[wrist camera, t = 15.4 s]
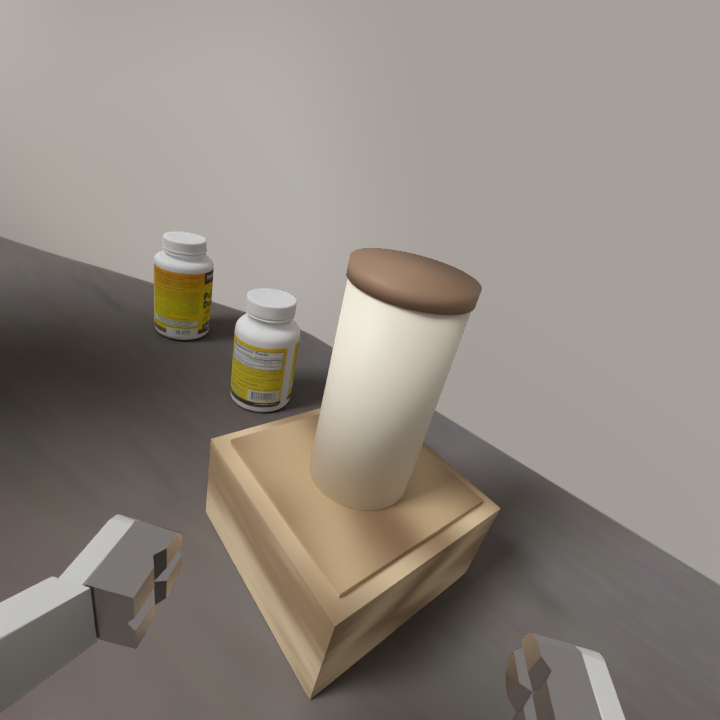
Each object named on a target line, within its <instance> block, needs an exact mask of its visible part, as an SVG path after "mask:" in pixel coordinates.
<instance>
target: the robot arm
mask: <svg viewBox="0 0 720 720" xmlns="http://www.w3.org/2000/svg"><path fill="white" fill-rule="evenodd" d="M181 544H182V533H180V532H176V531H173V530H169V529H166V528H163V527H159V526H156V525H153V524H149V523H146V522H143V521H140V520H137V519H133V518H130V517H126V516H123V515H119V514H117V515H116V516H114V517H113V518H111V519H110V520H109V521H108V522H107V523H106V524H105V525H104V527H103V528H102V529H101V530H100V531H99V532H98V534H97V535H96V536H95V537H94V538H93V539H92V540H91V542H90V543H89V544H88V545H87V546H86V547H85V548H84V550H83V551H82V552H81V553H80V554H79V555H78V556H77V558H76V559H75V560H74V561H73V562H72V563H71V564H70V566H69V567H68V568H67V569H66V570H65V571H64V573H63V574H62V575H61V576H60V577H59V578H57V577H53V576H52V577H50V578H48V579H46V580H44V581H42V582H40V583H38V584H36V585H34V586H32V587H30V588H28V589H26V590H24V591H22V592H20V593H18V594H16V595H14V596H12V597H10V598H8V599H6V600H4V601H2V602H0V713H2V712H3V711H4V710H6V709H7V708H8V707H10V706H11V705H12V704H14V703H15V702H16V701H18V700H19V699H20V698H22V697H23V696H24V695H26V694H27V693H28V692H30V691H31V690H33V689H34V688H35V687H37V686H38V685H39V684H41V683H42V682H43V681H45V680H46V679H47V678H49V677H50V676H51V675H53V674H54V673H55V672H57V671H58V670H60V669H61V668H62V667H64V666H65V665H66V664H68V663H69V662H70V661H72V660H73V659H74V658H76V657H77V656H78V655H80V654H81V653H82V652H84V651H85V650H87V649H88V648H89V647H91V646H92V645H93V644H95V643H96V642H97V639H100V640H104V641H108V642H112V643H115V644H119V645H123V646H127V647H131V648H135V649H136V648H137V647H138V645H139V643H140V642H141V640H142V638H143V637H144V635H145V633H146V631H147V630H148V628H149V626H150V625H151V623H152V621H153V620H154V618H155V605H156V604H157V603H159V602H161V601H162V600H164V599H165V598H167V596H168V594H169V592H170V590H171V589H172V587H173V585H174V583H175V580H176V578H177V576H178V573H179V570H180V566H181V561H182V555H181V554H180V552H179V551H178V549H179V547H180V546H181ZM522 644H523V648H522V649H519V650H516V651H514V652H513V653H512V655H511V657H510V658H509V660H508V664H507V669H506V688H507V695H508V699H509V700H510V702H511V704H512V705H513V707H514V708H515V710H516V714H515V716H514V718H513V720H626V719H625V717H624V714H623V711H622V708H621V705H620V703H619V700H618V697H617V694H616V691H615V688H614V686H613V683H612V680H611V677H610V674H609V672H608V669H607V666H606V663H605V661H604V659H603V657H602V656H601V654H600V653H598V652H596V651H594V650H590V649H587V648H583V647H579V646H575V645H573V644H571V643H567V642H563V641H560V640H556V639H552V638H548V637H545V636H541V635H537V634H533V633H530V634H526V636H525V637H524V638H523V640H522Z"/></svg>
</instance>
